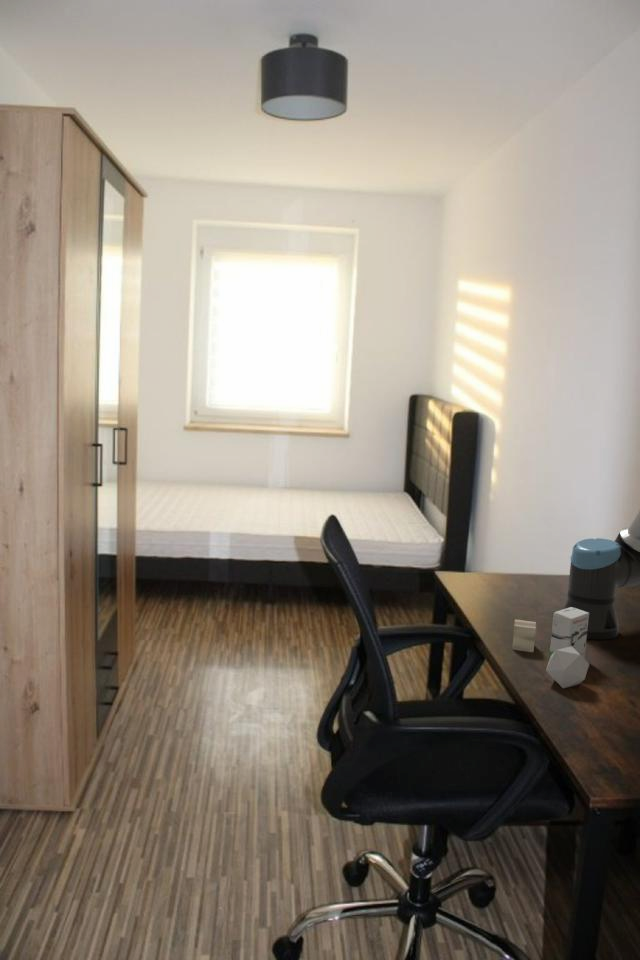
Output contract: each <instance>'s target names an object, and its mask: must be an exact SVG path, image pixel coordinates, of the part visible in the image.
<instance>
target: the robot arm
mask: <svg viewBox="0 0 640 960" xmlns="http://www.w3.org/2000/svg"><path fill="white" fill-rule="evenodd" d="M569 567H570V568H569V577H568V578H569V579H568V587H567V588H568V589H567V597H566V600H565V602H564V604H563V607H562V609H561V610H563V609H566V608H569V607H573V608H577V609H579V610H582V611H585V612H588V613H589V620H588V629H587V639H589V640H599V641H600V640H603V641H604V640H612V639H615V638H617V637H618V635H619V632H620V625H619V620H618V615H617V612H616V607H615V600H616V593H617V589H619V588H628V587H633V586H634V587H635V586H640V510H639V511H638V513H637V514H636V516H635V518H634V519H633V521H632V523H631V524H630V526H629V527H623V528H622V529H621V530H620V531H619V533H618V534H617V536H616V537H615V539H614V540H612V539H607V538H599V537H597V538H586V539H581V540H579V541H577V542H575V544H574V545H573V547H572V552H571V555H570V566H569Z"/></svg>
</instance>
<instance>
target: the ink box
mask: <svg viewBox="0 0 640 960" xmlns="http://www.w3.org/2000/svg"><path fill="white" fill-rule="evenodd" d="M588 620H589V613H588V612H585V611H582V610H579V609H577V608H573V607H569V608H566V609H563V610H562V609H560V610H557V611H554V613H553V618H552V627H551V635H550V636H551V637H550V646H549V655H548V661H549V660H550V657H551V655H552V654H553V653H554V652H555V651H556V650H558V649H562V648H567V647H571V646H572V647H573V648H574V649H575V650H576V651H577V652H578V653H579V654H580V655H581V656H582V657H583V658H584V659H585V657H586V647H587V639H588V638H587V629H588Z"/></svg>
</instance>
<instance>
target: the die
mask: <svg viewBox="0 0 640 960" xmlns="http://www.w3.org/2000/svg"><path fill="white" fill-rule="evenodd" d="M589 667H590V663H589V662H588V661H587V660H586V659H585V658H583V657H582V656H581V655H580V654H579V653H578V652H577V651H576V650H575V649H574V648H573V647H572V646H571V647H567V648H562V649H558V650H556V651H555V652H554V653H553V654H552V655H551V657H550V660H549V659H548V663H547V666H546V669H545V672H546V673H547V674H549V676H550V677H551V678H552V679H553V680H554V681H555V682H556V683H557V684H559V685H558V686H560V687H561V688H562V689H566V688H570V687H575V686H578V685H580V684H581V683H582V682H583V681H584V680H585V679H586V675H587V674H588V673H587V672H588V669H589Z"/></svg>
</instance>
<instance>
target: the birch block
mask: <svg viewBox="0 0 640 960" xmlns="http://www.w3.org/2000/svg"><path fill="white" fill-rule="evenodd" d="M536 631H537V622H536V621H529V620H523V619H514V625H513V635H512V649H511V650H513V651H515V650H516V651H520V652H521V651H522V652H526V653H527V652H528V653H534V650H535V641H536V633H537V632H536Z"/></svg>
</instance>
